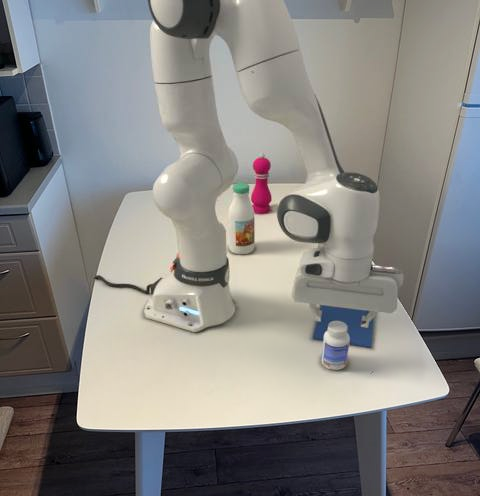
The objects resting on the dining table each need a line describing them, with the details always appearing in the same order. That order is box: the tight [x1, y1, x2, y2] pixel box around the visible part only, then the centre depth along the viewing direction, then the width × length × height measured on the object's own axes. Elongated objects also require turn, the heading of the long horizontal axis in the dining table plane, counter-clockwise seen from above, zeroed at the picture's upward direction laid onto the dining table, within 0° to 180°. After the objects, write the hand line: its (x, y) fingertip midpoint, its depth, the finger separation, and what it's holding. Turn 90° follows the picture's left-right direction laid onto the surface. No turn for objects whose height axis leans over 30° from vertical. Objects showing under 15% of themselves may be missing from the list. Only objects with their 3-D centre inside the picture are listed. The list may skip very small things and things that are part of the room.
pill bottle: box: [321, 321, 350, 371], centre depth 103 cm, size 5×5×10 cm
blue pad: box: [312, 305, 375, 349], centre depth 119 cm, size 13×20×1 cm, turn 165°
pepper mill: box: [250, 152, 272, 215], centre depth 167 cm, size 7×7×20 cm
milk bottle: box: [227, 182, 256, 255], centre depth 143 cm, size 8×8×20 cm
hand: (340, 322), depth 99 cm, fingers open, 8 cm apart
